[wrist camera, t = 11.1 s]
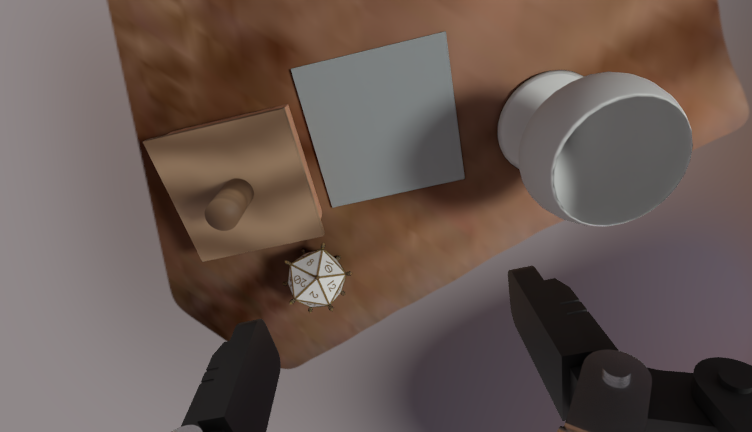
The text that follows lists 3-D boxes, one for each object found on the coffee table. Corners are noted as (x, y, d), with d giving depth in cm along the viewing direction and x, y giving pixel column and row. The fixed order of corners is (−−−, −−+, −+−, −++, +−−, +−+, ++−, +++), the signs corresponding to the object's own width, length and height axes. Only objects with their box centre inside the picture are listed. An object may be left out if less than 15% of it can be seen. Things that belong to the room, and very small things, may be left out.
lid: (147, 139, 42) (109, 160, 35) (284, 106, 41) (270, 122, 34) (205, 257, 48) (181, 292, 42) (324, 231, 47) (318, 264, 41)
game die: (312, 255, 58) (261, 300, 52) (319, 217, 52) (262, 262, 46) (360, 291, 56) (313, 343, 50) (373, 256, 50) (322, 309, 43)
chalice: (626, 133, 48) (730, 178, 34) (524, 200, 51) (581, 264, 38) (576, 32, 43) (675, 38, 29) (466, 114, 46) (508, 153, 33)
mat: (291, 68, 43) (290, 69, 43) (445, 31, 42) (445, 31, 42) (332, 206, 51) (332, 207, 50) (464, 177, 50) (464, 178, 49)
